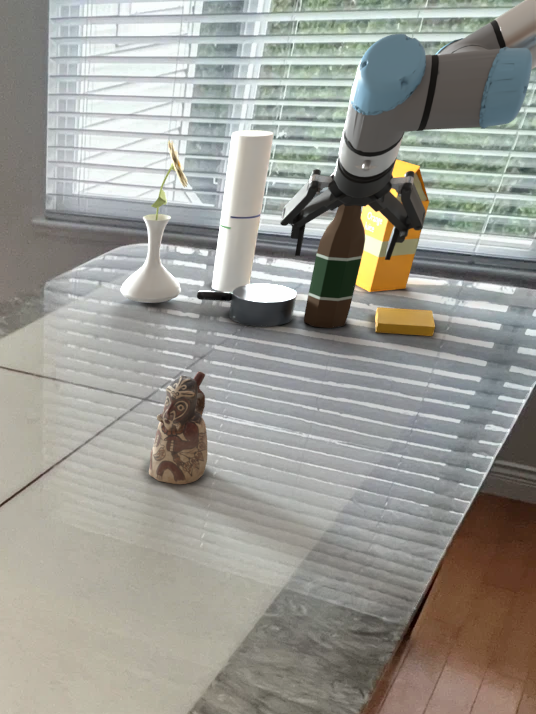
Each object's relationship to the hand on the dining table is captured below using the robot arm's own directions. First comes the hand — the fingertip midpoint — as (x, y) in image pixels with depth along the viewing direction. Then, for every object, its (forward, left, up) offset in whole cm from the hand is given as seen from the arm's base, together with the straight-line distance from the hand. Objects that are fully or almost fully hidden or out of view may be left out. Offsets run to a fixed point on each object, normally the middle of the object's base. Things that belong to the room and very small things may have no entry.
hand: (343, 249), depth 134 cm
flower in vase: (+29, +20, -13) cm, 38 cm away
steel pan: (+14, +8, -13) cm, 21 cm away
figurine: (-41, +42, -13) cm, 60 cm away
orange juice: (+24, -24, -13) cm, 37 cm away
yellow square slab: (+1, -15, -13) cm, 20 cm away
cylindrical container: (+31, +3, -13) cm, 34 cm away
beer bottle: (+7, -4, -13) cm, 16 cm away
